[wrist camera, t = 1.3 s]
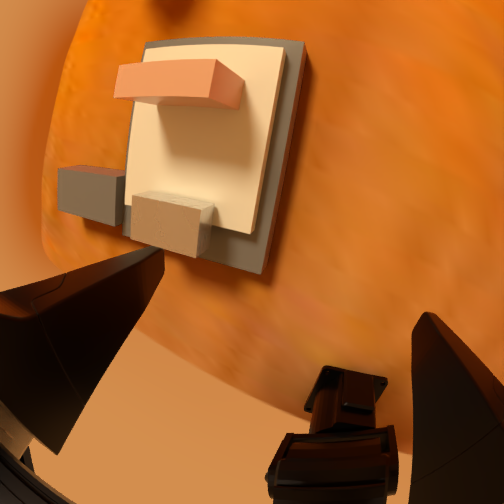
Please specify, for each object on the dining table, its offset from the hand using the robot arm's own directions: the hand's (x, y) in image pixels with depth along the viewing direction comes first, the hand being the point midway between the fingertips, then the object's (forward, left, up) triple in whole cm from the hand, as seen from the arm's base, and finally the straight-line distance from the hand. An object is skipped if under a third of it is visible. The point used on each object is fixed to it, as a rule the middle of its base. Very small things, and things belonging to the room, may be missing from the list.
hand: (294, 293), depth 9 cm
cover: (+5, +9, -10) cm, 14 cm away
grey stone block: (-1, +9, -9) cm, 12 cm away
